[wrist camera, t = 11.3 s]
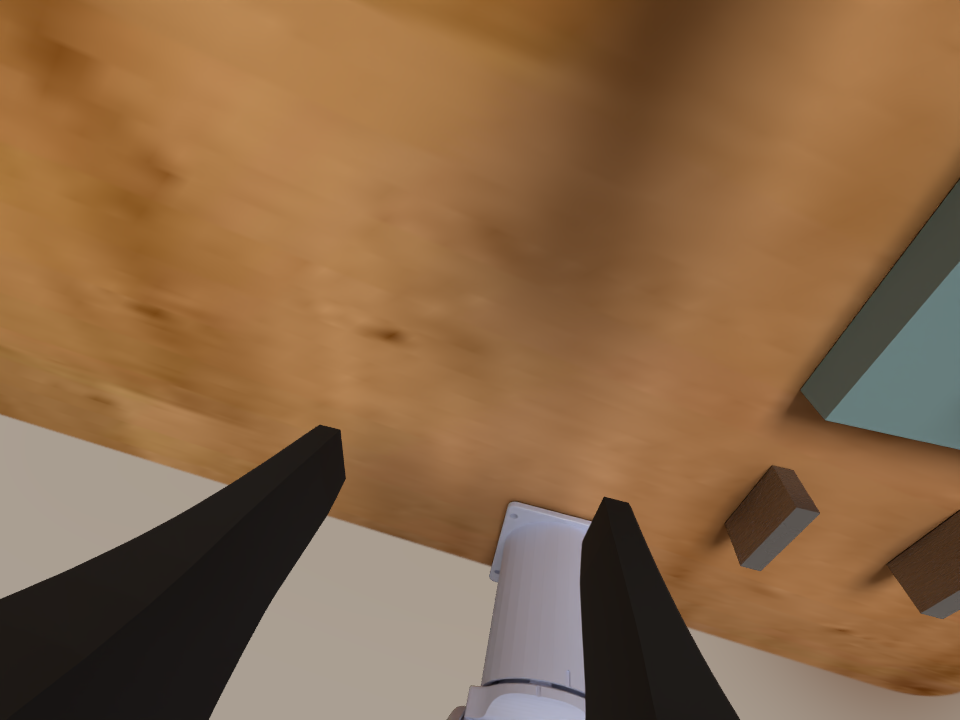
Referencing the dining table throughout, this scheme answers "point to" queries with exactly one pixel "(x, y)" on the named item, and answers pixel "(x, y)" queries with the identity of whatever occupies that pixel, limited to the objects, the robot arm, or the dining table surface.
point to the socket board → (903, 345)
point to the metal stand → (789, 510)
